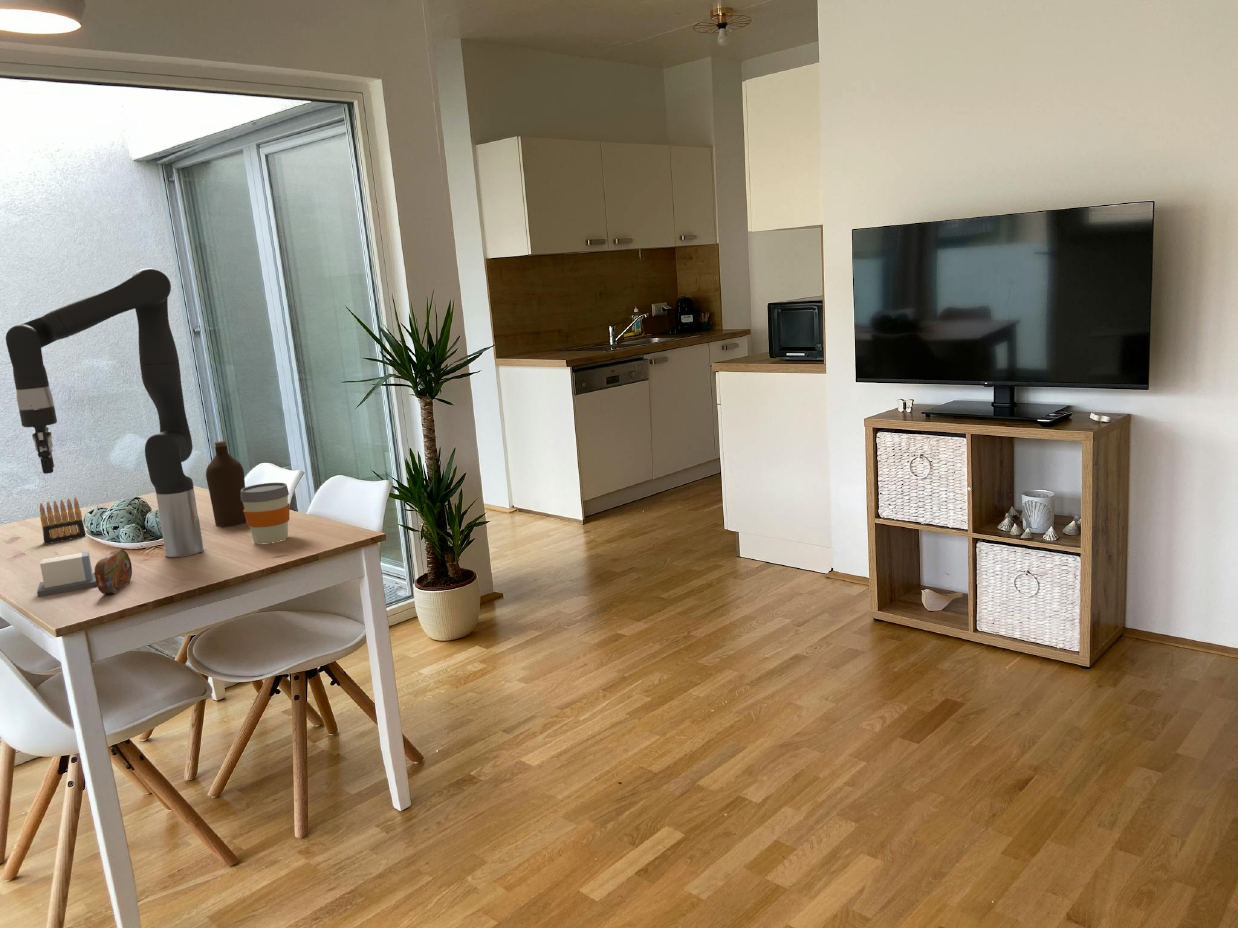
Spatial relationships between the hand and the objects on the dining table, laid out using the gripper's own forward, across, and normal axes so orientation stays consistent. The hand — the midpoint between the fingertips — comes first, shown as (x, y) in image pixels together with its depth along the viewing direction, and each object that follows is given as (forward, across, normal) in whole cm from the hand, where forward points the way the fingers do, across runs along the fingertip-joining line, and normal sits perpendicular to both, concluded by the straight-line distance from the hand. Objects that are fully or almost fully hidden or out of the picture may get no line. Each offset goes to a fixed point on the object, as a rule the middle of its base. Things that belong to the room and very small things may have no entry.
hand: (48, 470), depth 235 cm
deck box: (+26, +12, 0) cm, 29 cm away
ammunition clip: (+27, -46, -1) cm, 53 cm away
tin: (+28, +22, +10) cm, 37 cm away
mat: (+27, +12, 0) cm, 30 cm away
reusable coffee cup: (+28, +1, +49) cm, 57 cm away
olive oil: (+28, -30, +43) cm, 60 cm away
